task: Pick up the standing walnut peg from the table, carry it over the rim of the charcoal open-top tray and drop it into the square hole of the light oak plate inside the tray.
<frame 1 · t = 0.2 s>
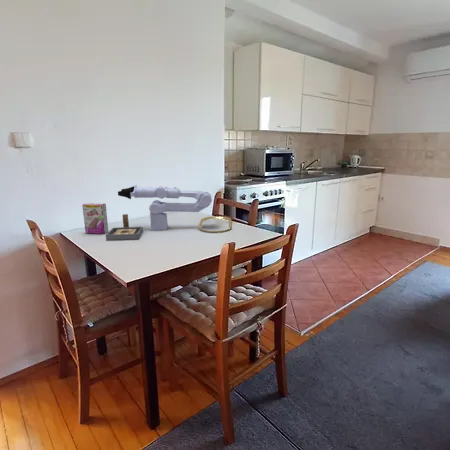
hand: (119, 192, 180), 21 cm above the table, tool horizontal, fingers open, 7 cm apart
walnut peg: (126, 228, 188), on the table
charcoal tray: (125, 236, 173), on the table
candy bar box: (97, 233, 179), on the table
gold wire ring: (215, 225, 194), on the table
oak hole plate: (125, 233, 172), in the charcoal tray, point 1 cm above the table
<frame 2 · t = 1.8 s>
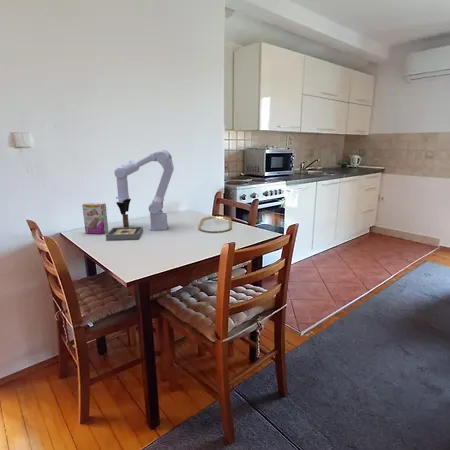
hand: (124, 212, 185), 9 cm above the table, tool pointing down, fingers open, 7 cm apart
nothing on the table moved.
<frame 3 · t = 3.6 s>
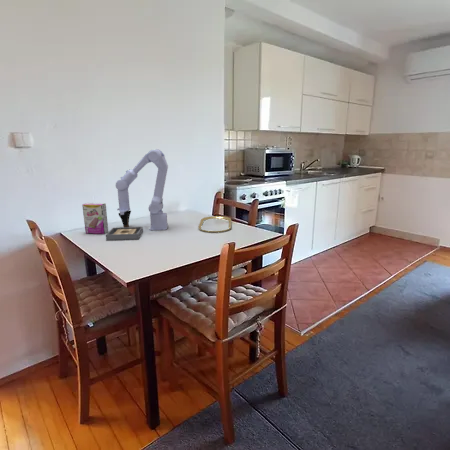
hand: (125, 224, 187), 2 cm above the table, tool pointing down, fingers closed on walnut peg, 3 cm apart
walnut peg: (126, 228, 188), on the table, touching gripper
everything else where it was.
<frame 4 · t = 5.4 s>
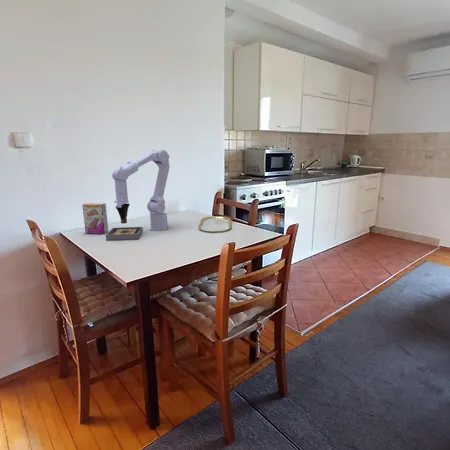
hand: (123, 218, 171), 9 cm above the table, tool pointing down, fingers closed on walnut peg, 3 cm apart
walnut peg: (124, 222, 172), point 7 cm above the table, touching gripper
everything else where it was.
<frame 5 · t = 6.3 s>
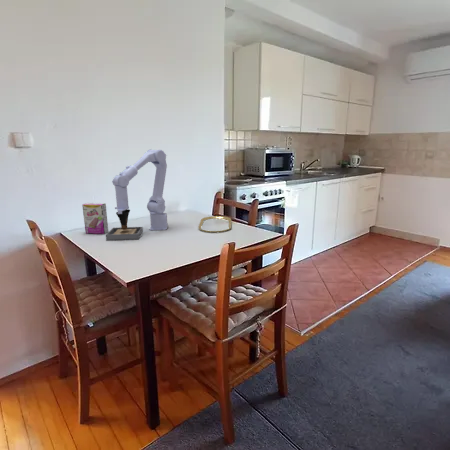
hand: (124, 224, 171), 6 cm above the table, tool pointing down, fingers closed on walnut peg, 3 cm apart
walnut peg: (124, 228, 172), point 4 cm above the table, touching gripper
everything else where it was.
when the fingers open (4 cm above the table, at t = 7.2 s): walnut peg stays where it is, resting on charcoal tray.
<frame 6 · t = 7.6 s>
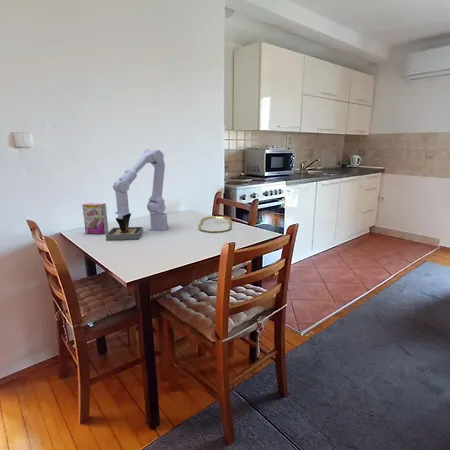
hand: (124, 229, 172), 4 cm above the table, tool pointing down, fingers open, 7 cm apart
walnut peg: (125, 235, 172), point 1 cm above the table, touching charcoal tray
everything else where it was.
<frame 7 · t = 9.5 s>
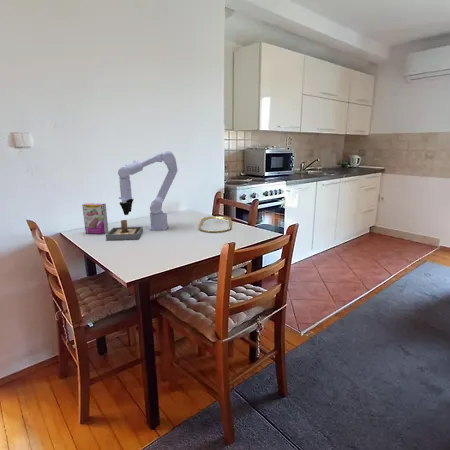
hand: (127, 213, 182), 10 cm above the table, tool pointing down, fingers open, 7 cm apart
nothing on the table moved.
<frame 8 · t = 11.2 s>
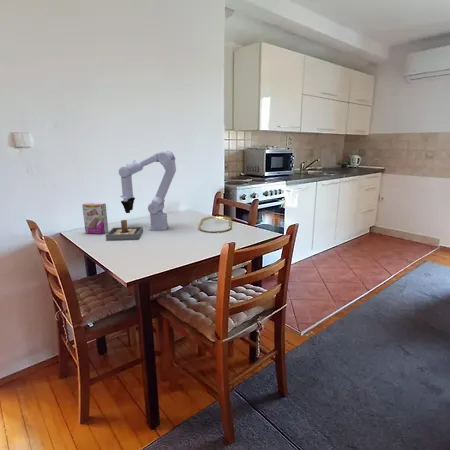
hand: (129, 211, 187), 9 cm above the table, tool pointing down, fingers open, 7 cm apart
nothing on the table moved.
at the end: walnut peg 0.1 cm off-centre on the oak hole plate, point 0.5 cm above the oak hole plate's base; walnut peg tilted 0°; the gripper is holding nothing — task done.
